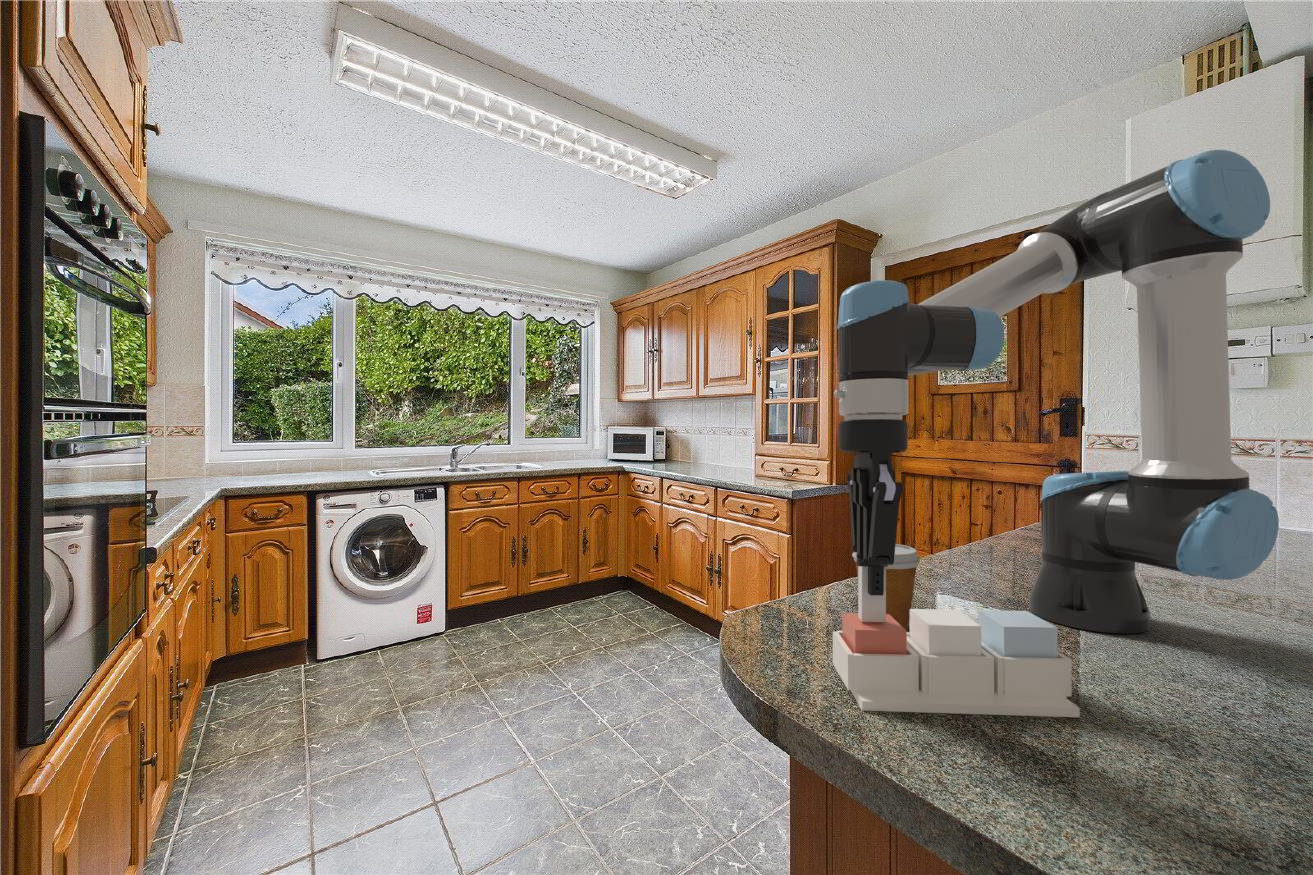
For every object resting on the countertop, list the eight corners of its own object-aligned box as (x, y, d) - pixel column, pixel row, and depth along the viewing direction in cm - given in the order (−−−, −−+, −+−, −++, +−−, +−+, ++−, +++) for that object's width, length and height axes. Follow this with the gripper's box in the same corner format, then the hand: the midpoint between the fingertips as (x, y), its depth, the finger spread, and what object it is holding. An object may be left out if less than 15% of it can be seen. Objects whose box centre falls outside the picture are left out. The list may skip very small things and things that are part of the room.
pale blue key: (1026, 644, 66) (1026, 611, 66) (1057, 664, 60) (1057, 627, 60) (978, 643, 66) (978, 610, 66) (1003, 662, 60) (1004, 626, 60)
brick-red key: (889, 647, 67) (889, 614, 67) (906, 666, 61) (906, 631, 61) (842, 646, 67) (842, 613, 67) (855, 665, 62) (855, 629, 62)
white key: (957, 642, 66) (957, 609, 66) (981, 662, 61) (981, 626, 61) (909, 641, 67) (909, 608, 67) (928, 660, 61) (928, 625, 61)
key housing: (1020, 668, 69) (1020, 628, 69) (1087, 717, 57) (1087, 669, 57) (828, 663, 71) (827, 624, 71) (854, 710, 59) (854, 663, 59)
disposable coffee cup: (928, 640, 78) (927, 556, 78) (857, 635, 80) (857, 553, 80) (911, 618, 87) (910, 543, 87) (848, 614, 89) (848, 541, 89)
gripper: (826, 419, 71) (826, 602, 71) (855, 416, 58) (854, 639, 58) (886, 419, 70) (885, 603, 70) (928, 416, 57) (928, 641, 57)
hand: (871, 619), depth 64 cm, fingers closed
